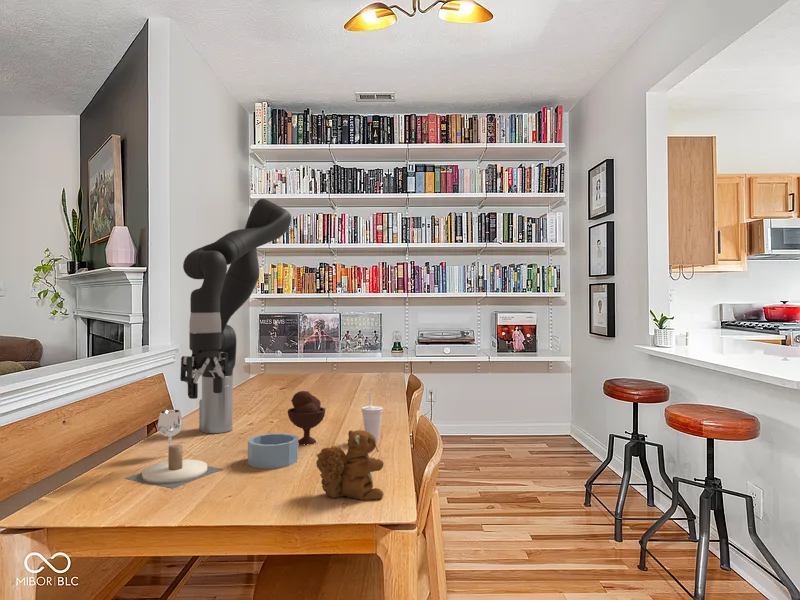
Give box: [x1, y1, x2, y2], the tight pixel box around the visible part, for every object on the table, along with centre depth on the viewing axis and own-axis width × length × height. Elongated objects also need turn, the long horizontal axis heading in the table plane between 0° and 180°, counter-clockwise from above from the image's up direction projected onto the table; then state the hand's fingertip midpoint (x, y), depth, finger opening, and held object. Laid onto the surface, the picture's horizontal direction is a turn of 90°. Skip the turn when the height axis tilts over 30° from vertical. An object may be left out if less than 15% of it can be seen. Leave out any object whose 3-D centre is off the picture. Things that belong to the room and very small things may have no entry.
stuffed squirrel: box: [315, 429, 385, 501], centre depth 115 cm, size 10×14×13 cm
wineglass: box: [157, 409, 183, 458], centre depth 141 cm, size 6×6×12 cm
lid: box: [141, 444, 208, 484], centre depth 126 cm, size 14×14×6 cm
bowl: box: [247, 432, 299, 470], centre depth 136 cm, size 12×12×6 cm
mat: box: [124, 465, 224, 489], centre depth 126 cm, size 15×15×1 cm
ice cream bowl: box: [287, 390, 327, 446], centre depth 156 cm, size 11×11×15 cm
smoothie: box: [361, 392, 384, 443], centre depth 158 cm, size 6×6×14 cm
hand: (205, 395), depth 135 cm, fingers open, 8 cm apart
